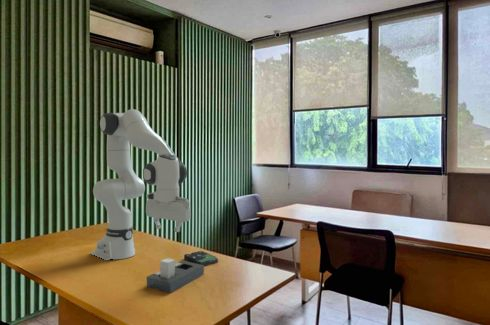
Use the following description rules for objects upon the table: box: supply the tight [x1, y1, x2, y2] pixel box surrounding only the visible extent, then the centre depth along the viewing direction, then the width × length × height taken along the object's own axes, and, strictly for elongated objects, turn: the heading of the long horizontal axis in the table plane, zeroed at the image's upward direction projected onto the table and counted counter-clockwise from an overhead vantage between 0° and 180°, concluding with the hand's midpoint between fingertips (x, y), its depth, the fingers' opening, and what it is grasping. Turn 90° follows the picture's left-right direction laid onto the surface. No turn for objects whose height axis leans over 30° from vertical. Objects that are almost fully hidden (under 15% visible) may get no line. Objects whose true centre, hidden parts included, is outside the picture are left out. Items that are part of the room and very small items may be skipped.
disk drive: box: [183, 250, 219, 267], centre depth 167 cm, size 10×3×15 cm
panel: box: [146, 260, 205, 294], centre depth 143 cm, size 12×22×4 cm, turn 152°
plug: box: [159, 258, 176, 279], centre depth 138 cm, size 4×5×10 cm
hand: (167, 230), depth 137 cm, fingers open, 8 cm apart
